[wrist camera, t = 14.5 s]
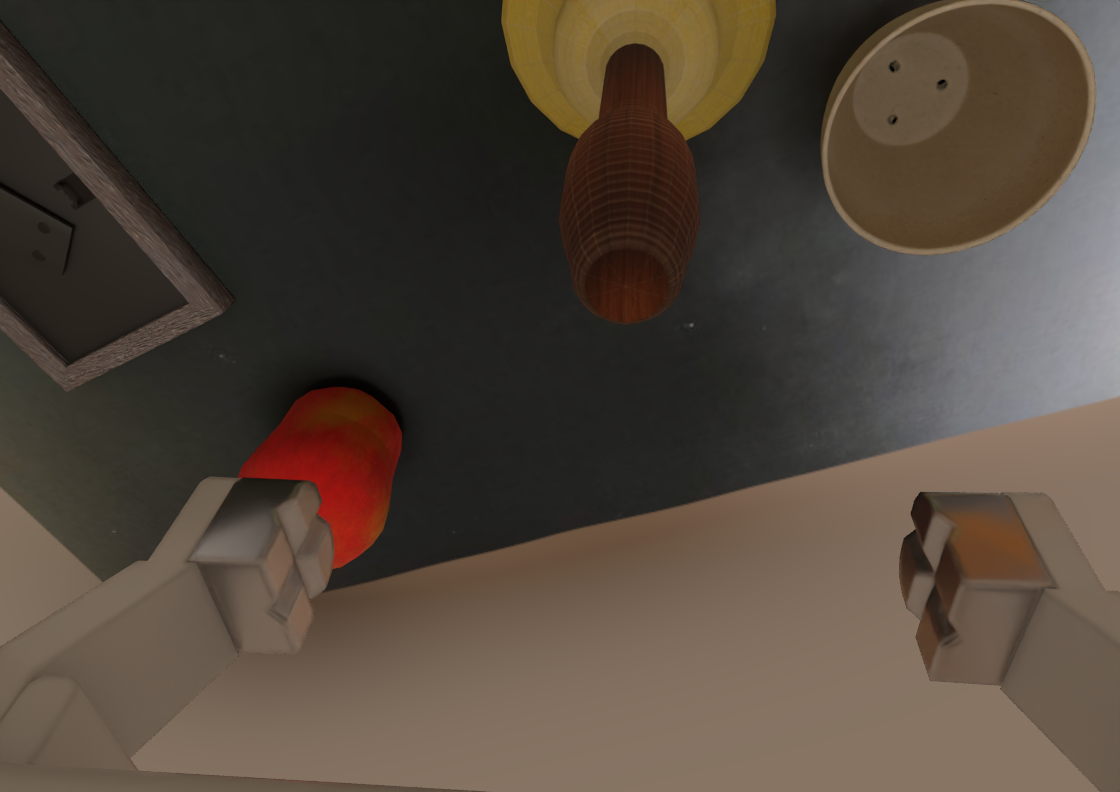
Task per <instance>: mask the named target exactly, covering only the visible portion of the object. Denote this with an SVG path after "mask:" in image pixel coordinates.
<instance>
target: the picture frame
mask: <svg viewBox="0 0 1120 792" xmlns="http://www.w3.org/2000/svg"><path fill="white" fill-rule="evenodd" d="M234 300H235V299H234V297H233V296H232V295H231V294H230V293H229V292H228V290H227V289H226V288H225V287H224V286H223V284H222V283H221V282H220V281H219V280H218V278H217V277H216V276H215V275H214V274H213V273H212V271H211V270H210V269H209V268H208V267H207V265H206V264H205V263H204V262H203V261H202V259H201V258H200V257H199V256H198V255H197V254H196V252H195V251H194V250H193V249H192V248H191V246H190V245H189V244H188V243H187V242H186V241H185V239H184V238H183V237H182V236H181V235H180V233H179V232H178V231H177V230H176V229H175V227H174V226H173V225H172V224H171V223H170V222H169V220H168V219H167V218H166V217H165V216H164V214H163V213H162V212H161V211H160V210H159V208H158V207H157V206H156V205H155V204H154V203H153V201H152V200H151V199H150V198H149V197H148V195H147V194H146V193H145V192H144V191H143V190H142V188H141V187H140V186H139V185H138V184H137V182H136V181H135V180H134V179H133V178H132V176H131V175H130V174H129V173H128V172H127V171H126V169H125V168H124V167H123V166H122V165H121V163H120V162H119V161H118V160H117V159H116V157H115V156H114V155H113V154H112V153H111V152H110V150H109V149H108V148H107V147H106V146H105V144H104V143H103V142H102V141H101V140H100V138H99V137H98V136H97V135H96V134H95V133H94V131H93V130H92V129H91V128H90V127H89V125H88V124H87V123H86V122H85V121H84V120H83V118H82V117H81V116H80V115H79V114H78V112H77V111H76V110H75V109H74V108H73V106H72V105H71V104H70V103H69V102H68V101H67V99H66V98H65V97H64V96H63V95H62V93H61V92H60V91H59V90H58V89H57V87H56V86H55V85H54V84H53V83H52V82H51V80H50V79H49V78H48V77H47V76H46V74H45V73H44V72H43V71H42V70H41V68H40V67H39V66H38V65H37V64H36V63H35V61H34V60H33V59H32V58H31V57H30V55H29V54H28V53H27V52H26V51H25V50H24V48H23V47H22V46H21V45H20V44H19V42H18V41H17V40H16V39H15V38H14V36H13V35H12V34H11V33H10V32H9V31H8V29H7V28H6V27H5V26H4V25H3V23H2V22H1V21H0V329H1V330H2V331H3V332H4V333H5V334H6V335H8V336H9V337H10V338H11V339H12V340H13V341H14V342H15V343H16V344H17V345H18V346H19V347H20V348H21V349H22V350H23V351H24V352H25V353H26V354H27V355H28V356H29V357H31V358H32V359H33V360H34V361H35V362H36V363H37V364H38V365H39V366H40V367H41V368H42V369H43V370H44V371H45V372H46V373H47V374H48V375H49V376H50V377H51V378H52V379H54V380H55V381H56V382H57V383H58V384H59V385H60V386H61V387H62V388H63V389H64V390H65V391H66V392H68V391H70V390H72V389H74V388H76V387H78V386H80V385H82V384H84V383H86V382H88V381H90V380H92V379H94V378H96V377H98V376H100V375H102V374H104V373H106V372H108V371H110V370H112V369H114V368H115V367H117V366H119V365H121V364H123V363H125V362H127V361H129V360H131V359H133V358H135V357H137V356H139V355H141V354H143V353H145V352H147V351H149V350H151V349H153V348H155V347H157V346H159V345H161V344H163V343H165V342H167V341H169V340H171V339H173V338H175V337H177V336H179V335H181V334H183V333H185V332H187V331H189V330H191V329H193V328H195V327H197V326H199V325H201V324H203V323H205V322H207V321H209V320H211V319H213V318H215V317H217V316H219V315H221V314H223V313H224V312H225V311H226V310H227V308H228V307H229V306H230V305H231V304H232V302H233V301H234Z"/></svg>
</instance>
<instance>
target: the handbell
mask: <svg viewBox="0 0 1120 792" xmlns="http://www.w3.org/2000/svg"><path fill="white" fill-rule="evenodd" d="M775 18H776V0H503V5H502V19H501V22H502V27H503V31H504V36H505V41H506V45H507V50H508V54H509V59H510V63H511V66H512V68H513V70H514V71H515V73H516V75H517V77H518V79H519V81H520V82H521V84H522V86H523V88H524V90H525V91H526V93H527V95H528V97H529V99H530V100H531V102H532V103H533V104H534V105H535V106H536V107H537V108H538V109H539V110H540V111H541V112H542V113H543V114H544V115H546V116H547V117H548V118H549V119H550V120H551V121H552V122H553V123H554V124H555V125H556V126H557V127H558V128H559V129H560V130H562V131H564V132H566V133H568V134H570V135H572V136H574V137H576V138H578V139H579V140H578V142H577V144H576V146H575V148H574V150H573V152H572V154H571V156H570V159H569V163H568V167H567V171H566V175H565V183H564V190H563V193H562V199H561V206H560V214H559V226H560V231H561V236H562V241H563V246H564V250H565V255H566V257H567V260H568V263H569V268H570V273H571V277H572V282H573V287H574V291H575V293H576V294H577V296H578V298H579V299H580V301H581V303H582V304H583V305H584V306H585V307H586V308H587V309H588V310H589V311H591V312H592V313H593V314H594V315H596V316H598V317H600V318H603V319H605V320H607V321H609V322H611V323H617V324H624V325H628V324H637V323H642V322H644V321H647V320H649V319H652V318H654V317H656V316H659V315H660V314H661V313H662V312H663V311H665V310H666V309H667V308H668V307H670V306H671V305H672V303H673V301H674V300H675V298H676V297H677V295H678V294H679V292H680V289H681V285H682V281H683V278H684V275H685V272H686V268H687V265H688V262H689V260H690V258H691V256H692V253H693V249H694V245H695V242H696V238H697V234H698V230H699V226H700V209H699V199H698V189H697V179H696V171H695V165H694V159H693V156H692V153H691V151H690V149H689V147H688V145H687V143H686V140H688V139H690V138H692V137H694V136H696V135H698V134H700V133H702V132H704V131H706V130H708V129H710V128H711V127H712V126H713V125H714V124H715V123H717V122H718V121H719V120H720V119H721V118H722V117H723V116H724V115H725V114H726V113H727V112H728V111H729V110H731V109H732V108H733V107H734V106H735V105H736V104H737V103H738V102H739V101H740V100H741V99H742V98H743V96H744V94H745V92H746V91H747V89H748V87H749V86H750V84H751V82H752V81H753V79H754V77H755V76H756V74H757V72H758V71H759V69H760V67H761V66H762V64H763V62H764V60H765V56H766V53H767V49H768V45H769V41H770V37H771V33H772V30H773V26H774V22H775Z"/></svg>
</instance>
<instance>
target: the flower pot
mask: <svg viewBox="0 0 1120 792" xmlns="http://www.w3.org/2000/svg"><path fill="white" fill-rule="evenodd" d="M889 66H893V67H894V71H891V70H890V68H889ZM940 80H945V81H944V82H943V83H941V84H938V82H939V81H940ZM1095 107H1096V82H1095V75H1094V71H1093V67H1092V63H1091V60H1090V58H1089V55H1088V53H1087V51H1086V48H1085V47H1084V45H1083V44H1082V42H1081V40H1080V39H1079V37H1078V36H1077V34H1076V33H1075V32H1074V31H1073V30H1072V29H1071V28H1070V27H1069V26H1068V25H1067V24H1066V23H1065V22H1064V21H1062V20H1061V19H1060V18H1059V17H1057V16H1056V15H1054V14H1052V13H1051V12H1049V11H1047V10H1045V9H1043V8H1041V7H1039V6H1037V5H1034V4H1031V3H1028V2H1024V1H1019V0H942V1H938V2H934V3H931V4H927V5H924V6H921V7H919V8H916V9H913V10H911V11H909V12H907V13H905V14H903V15H901V16H899V17H897V18H896V19H894V20H892V21H890V22H889V23H887V24H886V25H884V26H883V27H882V28H880V29H879V30H878V31H876V32H875V33H874V34H873V35H871V36H870V37H869V38H868V39H867V40H866V41H865V42H864V43H863V44H862V45H861V46H860V47H859V48H858V49H857V50H856V51H855V52H854V54H853V55H852V56H851V58H850V59H849V60H848V62H847V63H846V64H845V66H844V67H843V69H842V71H841V72H840V74H839V76H838V78H837V80H836V82H835V84H834V86H833V88H832V91H831V93H830V96H829V99H828V102H827V105H826V109H825V113H824V118H823V123H822V131H821V163H822V171H823V177H824V181H825V185H826V189H827V192H828V194H829V197H830V199H831V201H832V203H833V205H834V207H835V209H836V210H837V212H838V213H839V215H840V216H841V217H842V219H843V220H844V221H845V222H846V223H847V224H848V225H849V226H850V227H851V228H852V229H853V230H854V231H855V232H856V233H858V234H859V235H860V236H862V237H863V238H865V239H866V240H868V241H870V242H872V243H874V244H876V245H878V246H880V247H883V248H886V249H889V250H892V251H895V252H900V253H906V254H917V255H937V254H946V253H952V252H957V251H961V250H965V249H968V248H972V247H975V246H978V245H981V244H983V243H986V242H988V241H990V240H993V239H995V238H997V237H999V236H1001V235H1003V234H1005V233H1006V232H1008V231H1010V230H1011V229H1013V228H1015V227H1016V226H1018V225H1019V224H1021V223H1022V222H1024V221H1025V220H1027V219H1028V218H1029V217H1030V216H1032V215H1033V214H1034V213H1035V212H1036V211H1038V210H1039V209H1040V208H1041V207H1042V206H1043V205H1044V204H1045V203H1046V202H1047V201H1048V200H1049V199H1050V198H1051V197H1052V196H1053V195H1054V194H1055V193H1056V192H1057V191H1058V190H1059V188H1060V187H1061V186H1062V185H1063V183H1064V182H1065V181H1066V179H1067V178H1068V176H1069V175H1070V173H1071V172H1072V170H1073V169H1074V167H1075V165H1076V164H1077V162H1078V160H1079V158H1080V157H1081V155H1082V153H1083V150H1084V148H1085V146H1086V143H1087V141H1088V138H1089V135H1090V132H1091V129H1092V125H1093V121H1094V114H1095ZM896 117H897V120H896V122H895V123H894V124H893V123H892V121H893V119H894V118H896Z"/></svg>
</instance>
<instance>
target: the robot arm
mask: <svg viewBox="0 0 1120 792" xmlns="http://www.w3.org/2000/svg"><path fill="white" fill-rule="evenodd" d="M321 503H322V498H321V495H320V493H319V490H318V487H317V484H316V483H314V482H312V481H309V480H292V479H269V478H246V477H243V478H228V477H208V478H207V479H205V480H203V481H201V482H200V483H199V485H198V486H197V488H196V489H195V491H194V492H193V494H192V495H191V497H190V498H189V500H188V501H187V503H186V504H185V506H184V507H183V509H182V510H181V512H180V513H179V515H178V516H177V518H176V519H175V521H174V522H173V524H172V525H171V527H170V528H169V530H168V531H167V533H166V534H165V536H164V537H163V539H162V540H161V542H160V543H159V545H158V546H157V548H156V549H155V551H154V552H153V554H152V555H151V557H150V558H149V560H148V561H136V562H135V563H133V564H132V565H130V566H128V567H127V568H125V569H124V570H122V571H120V572H119V573H117V574H116V575H114V576H112V577H111V578H109V579H108V580H106V581H104V582H103V583H101V584H100V585H98V586H96V587H95V588H93V589H92V590H90V591H89V592H87V593H85V594H84V595H82V596H81V597H79V598H77V599H76V600H74V601H72V602H71V603H69V604H68V605H66V606H64V607H63V608H61V609H60V610H58V611H56V612H55V613H53V614H52V615H50V616H48V617H47V618H45V619H44V620H42V621H40V622H39V623H37V624H36V625H34V626H33V627H31V628H29V629H28V630H26V631H24V632H23V633H21V634H20V635H18V636H17V637H15V638H13V639H12V640H10V641H8V642H7V643H5V644H4V645H2V646H0V792H482V791H467V790H450V789H449V790H448V789H434V788H417V787H400V786H384V785H367V784H351V783H334V782H317V781H300V780H284V779H267V778H250V777H234V776H215V775H200V774H183V773H167V772H150V771H138V769H137V768H136V766H135V765H134V763H133V762H132V760H131V759H130V758H131V757H132V756H133V755H134V754H135V753H136V752H137V751H138V750H139V749H141V748H142V747H143V746H144V745H145V744H146V743H147V742H148V741H149V740H150V739H151V738H152V737H153V736H155V735H156V733H158V732H159V731H160V730H161V729H162V728H163V727H164V726H165V725H166V724H167V723H168V722H169V721H171V720H172V719H173V717H175V716H176V715H177V714H178V713H179V712H180V711H181V710H182V709H183V708H184V707H186V705H188V704H189V703H190V702H191V701H192V700H193V699H194V698H195V697H196V696H197V695H198V694H199V693H200V692H201V691H203V690H204V689H205V688H206V687H207V686H208V685H209V684H210V683H211V682H212V681H213V680H214V679H215V678H216V677H217V676H219V675H220V674H221V673H222V672H223V671H224V670H225V669H226V668H227V667H228V666H229V665H230V664H231V663H233V662H234V661H235V660H236V659H237V658H238V657H239V654H238V653H284V654H287V653H288V654H298V653H299V651H300V649H301V646H302V644H303V641H304V639H305V636H306V634H307V632H308V629H309V627H310V625H311V622H312V620H313V617H314V615H315V613H314V611H313V607H312V605H311V602H310V600H311V599H313V598H314V597H315V596H317V595H318V594H319V593H320V592H322V591H323V590H324V589H325V588H326V586H327V583H328V580H329V578H330V575H331V573H332V567H333V560H334V553H335V550H334V538H333V534H332V530H331V527H330V524H329V523H328V522H327V521H326V520H325V519H323V518H322V517H321V516H320V515H319V514H317V512H318V510H319V507H320V505H321ZM911 517H912V520H913V522H914V525H915V528H916V529H915V530H914V531H913V532H911V533H910V534H909V535H907V536H906V537H905V538H904V540H903V544H902V548H901V553H900V562H899V566H900V567H899V578H900V584H901V590H902V594H903V598H904V601H905V605H906V608H907V609H908V610H909V611H910V612H912V613H913V614H914V615H915V616H916V617H917V618H919V619H920V620H921V621H920V624H919V627H918V631H917V634H916V640H917V642H918V646H919V649H920V652H921V655H922V658H923V661H924V664H925V667H926V670H927V673H928V677H929V679H930V681H941V682H955V683H969V684H970V683H971V684H984V685H999V686H1001V688H1000V689H1001V690H1002V691H1003V692H1004V693H1005V694H1006V695H1007V696H1008V697H1009V699H1010V700H1012V702H1014V704H1016V706H1017V707H1018V708H1019V709H1020V710H1021V711H1022V712H1023V713H1024V714H1025V715H1026V716H1027V717H1028V718H1029V719H1030V720H1031V721H1032V722H1033V723H1034V724H1035V725H1036V726H1037V727H1038V728H1039V729H1040V730H1041V731H1042V732H1043V733H1044V734H1045V735H1046V737H1047V738H1048V739H1049V740H1050V741H1051V742H1052V743H1053V744H1054V745H1055V746H1056V747H1057V748H1058V749H1059V750H1060V751H1061V752H1062V753H1063V754H1064V755H1065V756H1066V757H1067V758H1068V759H1069V760H1070V761H1071V762H1072V763H1073V764H1074V765H1075V766H1076V767H1077V768H1078V769H1079V770H1080V771H1081V773H1083V775H1084V776H1085V777H1086V778H1088V780H1089V781H1090V782H1091V783H1092V784H1093V785H1094V786H1095V787H1096V788H1097V789H1098V790H1099V791H1100V792H1120V592H1119V591H1105V589H1104V587H1103V586H1102V584H1101V583H1100V581H1099V579H1098V577H1097V575H1096V574H1095V572H1094V570H1093V569H1092V567H1091V565H1090V564H1089V562H1088V560H1087V558H1086V557H1085V555H1084V553H1083V552H1082V550H1081V548H1080V546H1079V545H1078V543H1077V541H1076V540H1075V538H1074V536H1073V535H1072V533H1071V531H1070V529H1069V528H1068V526H1067V524H1066V523H1065V521H1064V519H1063V517H1062V516H1061V514H1060V512H1059V511H1058V509H1057V507H1056V505H1055V504H1054V502H1053V500H1052V499H1051V498H1050V497H1049V496H1048V495H1046V494H1045V493H1001V494H999V493H965V492H963V493H960V492H920V493H919V495H918V496H917V497H916V499H915V500H914V504H913V507H912V511H911ZM483 792H484V791H483Z"/></svg>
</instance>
